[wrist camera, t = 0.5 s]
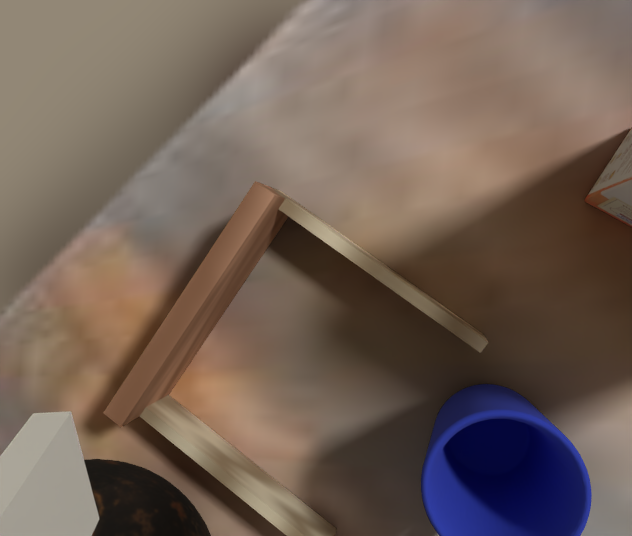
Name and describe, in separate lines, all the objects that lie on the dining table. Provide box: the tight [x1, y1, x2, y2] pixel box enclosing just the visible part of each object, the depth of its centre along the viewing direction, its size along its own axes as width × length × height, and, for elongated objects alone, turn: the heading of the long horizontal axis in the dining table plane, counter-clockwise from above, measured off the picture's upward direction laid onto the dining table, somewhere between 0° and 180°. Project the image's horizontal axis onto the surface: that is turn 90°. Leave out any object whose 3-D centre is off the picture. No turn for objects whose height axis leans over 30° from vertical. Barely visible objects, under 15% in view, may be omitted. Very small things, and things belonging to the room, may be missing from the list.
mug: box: [421, 384, 591, 536], centre depth 34 cm, size 8×12×10 cm
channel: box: [103, 181, 488, 536], centre depth 38 cm, size 17×18×6 cm
